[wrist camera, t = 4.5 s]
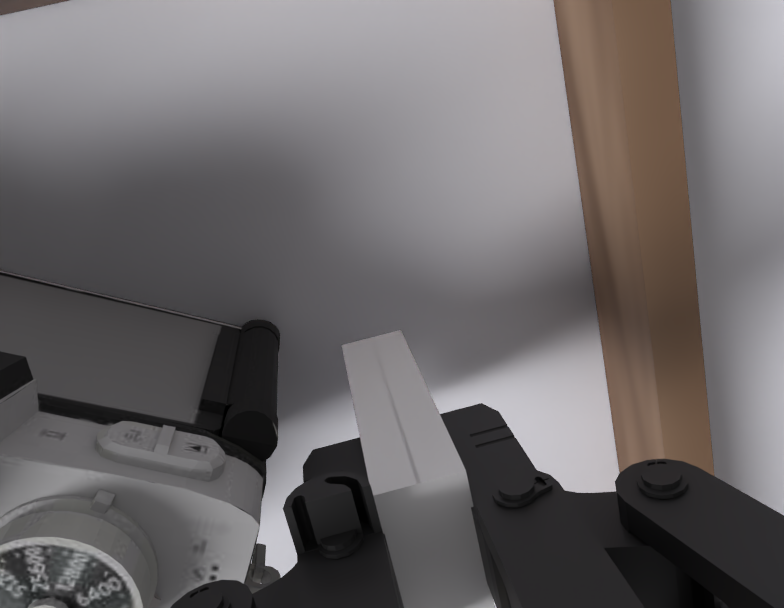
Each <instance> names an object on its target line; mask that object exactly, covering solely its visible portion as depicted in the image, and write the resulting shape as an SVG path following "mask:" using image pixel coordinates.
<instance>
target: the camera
mask: <svg viewBox="0 0 784 608" xmlns="http://www.w3.org/2000/svg"><path fill="white" fill-rule="evenodd" d="M279 345H280V333H279V330H278V328H277V327H276V326H275V325H273V324H272V323H271V322H268V321H265V320H251V321H249V322H247V323H245V324H244V325H243V327H238V326H235V325H231V324H227V323H223V322H218V321H214V320H210V319H206V318H201V317H197V316H193V315H189V314H184V313H180V312H176V311H172V310H167V309H163V308H159V307H154V306H150V305H146V304H142V303H137V302H133V301H129V300H125V299H120V298H116V297H112V296H108V295H103V294H99V293H95V292H90V291H86V290H82V289H78V288H73V287H69V286H65V285H61V284H56V283H52V282H48V281H43V280H39V279H35V278H31V277H26V276H22V275H18V274H14V273H9V272H5V271H1V270H0V608H170V607H171V606H172V605H173V604H174V603H175V602H176V601H177V600H179V599H180V598H181V597H182V596H184V595H185V594H186V593H187V592H189V591H191V590H193V589H195V588H197V587H199V586H201V585H203V584H206V583H210V582H214V581H218V580H237V581H239V582H241V583H243V584H245V585H247V586H248V587H249V589H250V591H251V593H252V594H253V593H255V592H257V591H259V590H261V589H262V588H264V587H266V586H268V585H270V584H272V583H273V582H275V581H277V580H278V579H280V574H279V572H278V571H277V570H276V569H274V568H273V567H269V566H265V553H266V545H263V544H256V541H257V537H258V532H259V527H260V515H261V501H262V498H263V494H264V490H265V485H266V459H268V458H269V457H270V456H271V455H272V453H273V452H274V450H275V448H276V447H277V441H278V418H277V373H278V351H279ZM255 546H256V547H255ZM254 549H255V550H254ZM253 553H254V554H253ZM252 556H253V558H252ZM251 560H252V564H250V563H251ZM260 583H262V584H260Z"/></svg>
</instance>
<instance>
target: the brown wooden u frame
mask: <svg viewBox="0 0 784 608" xmlns="http://www.w3.org/2000/svg"><path fill="white" fill-rule="evenodd" d="M63 1H68V0H0V15H4V14H9V13H13V12H18V11H22V10H27V9H31V8H36V7H41V6H45V5H50V4H54V3H59V2H63ZM554 7H555V14H556V21H557V28H558V36H559V43H560V50H561V57H562V64H563V71H564V78H565V86H566V93H567V100H568V107H569V114H570V121H571V129H572V136H573V143H574V150H575V157H576V164H577V171H578V179H579V186H580V193H581V200H582V207H583V214H584V222H585V229H586V236H587V243H588V250H589V257H590V264H591V272H592V279H593V286H594V293H595V300H596V307H597V315H598V322H599V329H600V336H601V343H602V350H603V357H604V365H605V372H606V379H607V386H608V393H609V400H610V408H611V415H612V422H613V429H614V436H615V443H616V450H617V458H618V465H619V472H621V471H623V470H624V469H626V468H627V467H629V466H630V465H632V464H635V463H639V462H642V461H645V460H651V459H671V460H678V461H684V462H686V463H689V464H691V465H694V466H697V467H699V468H700V469H702V470H704V471H706V472H707V473H709V474H711V475H713V476H714V467H713V456H712V445H711V434H710V424H709V413H708V402H707V391H706V380H705V369H704V359H703V348H702V337H701V326H700V315H699V304H698V294H697V283H696V272H695V261H694V250H693V239H692V229H691V218H690V207H689V196H688V185H687V174H686V164H685V153H684V142H683V131H682V120H681V109H680V99H679V88H678V77H677V66H676V55H675V44H674V34H673V23H672V12H671V1H670V0H554Z"/></svg>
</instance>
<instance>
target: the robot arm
mask: <svg viewBox="0 0 784 608" xmlns="http://www.w3.org/2000/svg"><path fill="white" fill-rule="evenodd" d="M342 350H343V355H344V360H345V365H346V370H347V375H348V380H349V385H350V390H351V395H352V400H353V405H354V410H355V415H356V420H357V425H358V430H359V435H360V438H356V439H352V440H348V441H345V442H341V443H337V444H333V445H329V446H326V447H322V448H318V449H314V450H312V452H311V454H310V455H309V457H308V459H307V460H306V462H305V463H304V465H303V481H304V483H303V484H302V485H300V486H298V487H297V488H296V489H295V490H294V491H293V492H292V493H291V494H290V495H289V496H288V497H287V498H286V501H285V504H284V507H283V510H284V513H285V516H286V520H287V523H288V526H289V529H290V533H291V536H292V539H293V542H294V545H295V549H296V552H297V560H298V562H297V564H296V565H295V566H294V567H293V568H292V569H291V570H290V571H289V572H288V573H287V574H285V575H284V576H283V577H282V578H280V579H278V580H277V581H275V582H273V583H272V584H270V585H268V586H266V587H264V588H262V589H261V590H259V591H257V592H255V593H253V594H252V593H251V591H250V589H249V587H248V586H247V585H245V584H243V583H241V582H239V581H237V580H218V581H214V582H210V583H206V584H203V585H201V586H199V587H197V588H195V589H193V590H191V591H189V592H187V593H186V594H185V595H184V596H182V597H181V598H180V599H179V600H177V601H176V602H175V603H174V604H173V605H172V606H171V607H170V608H495V605H494V602H495V604H496V607H497V608H784V516H783V515H782V514H780V513H778V512H776V511H775V510H773V509H771V508H769V507H768V506H766V505H764V504H762V503H760V502H759V501H757V500H755V499H753V498H752V497H750V496H748V495H746V494H745V493H743V492H741V491H739V490H738V489H736V488H734V487H732V486H730V485H729V484H727V483H725V482H723V481H722V480H720V479H718V478H716V477H715V476H713V475H711V474H709V473H707V472H706V471H704V470H702V469H700V468H699V467H697V466H694V465H691V464H689V463H686V462H684V461H678V460H671V459H651V460H645V461H642V462H639V463H635V464H632V465H630V466H629V467H627V468H626V469H624V470H623V471H621V472H620V474H619V476H618V477H617V479H616V481H615V485H616V492H603V493H575V492H569V491H564V489H563V488H562V487H561V485H560V484H559V482H558V481H556V480H555V479H554V478H553V477H552V476H551V475H549V474H546V473H543V472H540V471H537V470H536V468H535V467H534V465H533V464H532V462H531V461H530V459H529V458H528V456H527V455H526V453H525V452H524V450H523V448H522V447H521V445H520V444H519V442H518V441H517V439H516V438H514V435H513V433H512V432H511V430H510V429H509V427H507V424H506V422H505V421H504V419H503V418H502V416H501V415H500V413H499V412H498V411H496V410H494V409H492V408H490V407H488V406H486V405H484V404H482V403H481V404H477V405H473V406H470V407H466V408H462V409H458V410H454V411H451V412H447V413H443V414H439V411H438V409H437V407H436V405H435V403H434V401H433V398H432V396H431V394H430V392H429V390H428V388H427V385H426V383H425V381H424V379H423V377H422V375H421V373H420V370H419V368H418V366H417V364H416V362H415V360H414V357H413V355H412V353H411V351H410V349H409V347H408V344H407V342H406V340H405V338H404V336H403V334H402V332H401V330H398V331H394V332H390V333H386V334H382V335H379V336H375V337H371V338H367V339H363V340H359V341H355V342H351V343H347V344H343V345H342ZM493 599H494V601H493Z"/></svg>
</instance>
